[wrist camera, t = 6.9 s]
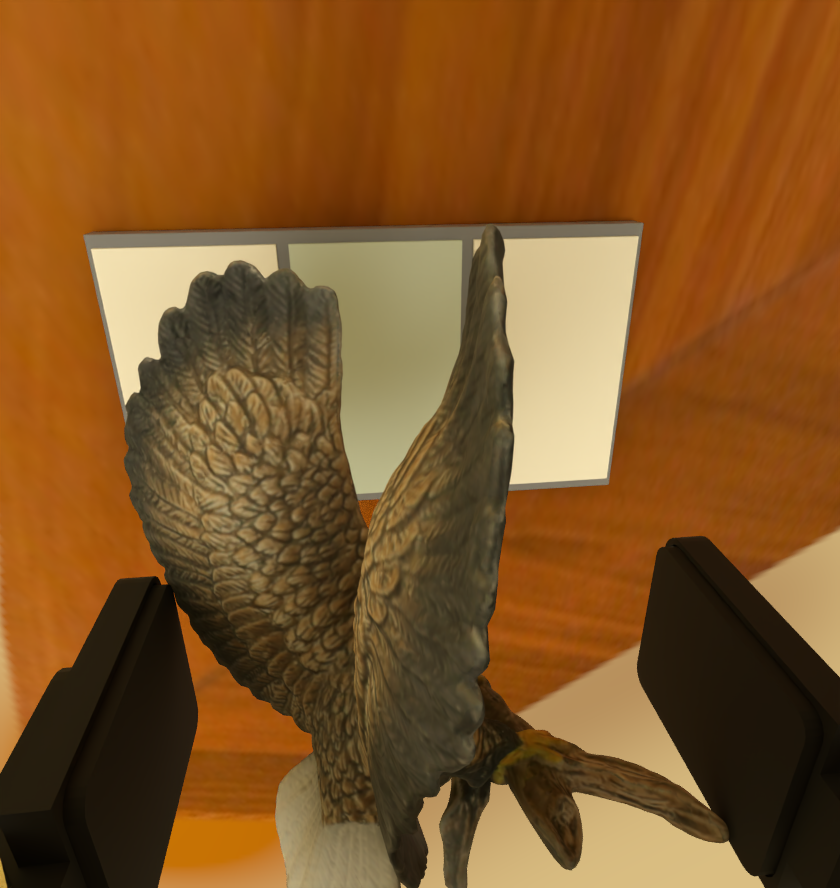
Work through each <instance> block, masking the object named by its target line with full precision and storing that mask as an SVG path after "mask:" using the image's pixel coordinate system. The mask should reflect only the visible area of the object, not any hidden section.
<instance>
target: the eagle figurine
mask: <svg viewBox="0 0 840 888" xmlns="http://www.w3.org/2000/svg"><path fill="white" fill-rule="evenodd" d="M504 255H505V245H504V240H503V238H502V235H501V233H500V231H499V229H498V228H497V227H496V226H494V225H493V224H492V223H491V224H487V226H486V228H485V230H484V232H483V234H482V238H481V243H480V246H479V248H478V249H477V250H476V252H475V254H474V256H473V259H472V267H471V271H470V276H469V286H468V296H467V305H466V317H465V325H464V329H463V332H462V342H461V346H460V350H459V354H458V357H457V359H456V362H455V365H454V367H453V370H452V373H451V376H450V379H449V382H448V385H447V388H446V391H445V394H444V397H443V399H442V402H441V404H440V406H439V408H438V409H437V411H436V412H435V414H434V415H433V417H432V418H431V419H430V420H429V421H428V422H427V423H426V424H425V425H424V426H423V428H422V429H421V431H420V433H419V434H418V435H417V436H416V438H415V439H414V441H413V443H412V444H411V446H410V448H409V450H408V452H407V454H406V456H405V458H404V460H403V461H402V462H401V463H400V464H399V465H398V467H397V468H396V469H395V471H394V472H393V474H392V475H391V477H390V479H389V481H388V483H387V485H386V487H385V489H384V491H383V493H382V495H381V497H380V499H379V501H378V503H377V505H376V507H375V509H374V512H373V515H372V518H371V521H370V527H369V529H368V527H367V525H366V523H365V521H364V519H363V517H362V514H361V511H360V507H359V503H358V499H357V494H356V490H355V486H354V482H353V479H352V475H351V470H350V465H349V462H348V458H347V455H346V452H345V448H344V442H343V436H342V430H341V420H340V412H341V392H342V378H343V362H342V358H341V348H342V322H341V317H340V312H339V305H338V298H337V295H336V293H335V291H334V290H333V289H331V288H330V287H328V286H315V287H314V288H308V287H307V286H306V285H305V284H304V282H303V281H302V280H301V279H299V277H298V276H297V274H296V273H295V272H294V271H292V270H291V269H289V268H282V269H280V270H277V271H275V272H273V273H272V274H271V275H269V276H268V277H267V278H264V277H263V275H262V274H261V273H260V271H259V270H258V269H257V268H256V267H255V266H254V265H252V264H250V263H247V262H245V261H242V260H238V261H233V262H231V263H230V264H229V265H228V267H227V269H226V270H225V272H224V275H217V274H216V273H214V272H209V271H205V272H200V273H199V274H198V275H197V276H196V277H195V278H194V279H193V280H192V282H191V284H190V287H189V292H188V297H187V301H186V304H185V306H184V307H183V308H181V309H179V308H177V307H170V308H168V309H167V310H165V311H164V313H163V315H162V317H161V319H160V321H159V325H158V345H159V350H160V354H161V357H160V359H159V360H156V359H153V358H149V357H146V358H144V359H143V360H142V361H141V363H140V364H139V366H138V374H139V380H140V387H141V388H140V391H139V393H137V392H134V393H133V394H132V395H131V396H130V398H129V400H128V401H127V403H126V405H125V407H126V411H127V420H126V424H125V440H126V442H127V444H128V446H129V449H128V452H127V454H126V456H125V458H124V464H125V469H126V471H127V473H128V476H129V478H130V481H131V484H132V489H131V492H130V495H129V496H130V499H131V501H132V504H133V506H134V508H135V509H136V511H137V512H138V514H139V517H140V519H141V520H142V521H143V530H144V533H145V536H146V538H147V540H148V541H149V543H150V548H151V551H152V553H153V555H154V556H155V558H156V559H157V561H158V563H159V564H160V565H162V566H163V567H165V574H164V576H165V579H166V581H167V583H168V584H169V585H171V587H172V589H173V592H174V594H175V598H176V602H177V604H178V605H179V607H180V608H181V609H182V610H183V611H184V612H185V613H186V614H188V616H189V619H190V625H191V627H192V628H193V630H194V631H195V632H196V633H197V634H198V635H199V637H200V639H201V641H202V642H203V644H204V645H206V646H207V647H208V648H210V650H211V651H212V652H213V654H214V656H215V658H216V660H217V661H218V663H219V664H220V665H223V666H225V667H227V668H228V669H229V671H230V673H231V674H232V676H233V678H234V679H235V680H236V681H237V682H238V683H239V684H240V685H241V686H244V687H248V688H249V689H250V690H251V692H252V694H253V696H255V697H256V698H257V699H259V700H262V701H266V702H269V703H271V705H272V707H273V709H275V710H276V711H278V712H280V713H281V714H283V715H286V716H292V717H293V719H294V721H295V723H296V725H297V726H298V727H299V728H300V729H301V730H302V731H304V732H307V733H310V734H312V747H313V752H312V753H311V754H309V755H308V756H307V757H306V758H305V759H304V760H302V761H301V763H299V764H298V765H296V766H295V767H294V768H293V769H292V770H290V771H289V773H288V774H287V775H286V776H285V777H284V778H283V780H282V781H281V782H280V784H279V787H278V793H277V798H276V813H275V819H276V827H277V832H278V835H279V838H280V845H281V850H282V853H283V856H284V861H285V867H286V875H287V888H401V886H400V885H401V884H400V882H401V883H402V884H403V885H405V886H406V887H407V888H418V887H419V885H420V882H421V879H423V878H424V875H425V870H426V868H427V866H426V864H427V857H426V856H427V854H428V847H427V844H426V841H425V838H424V835H423V832H422V829H421V827H420V824H419V821H418V818H417V817H418V815H419V813H420V811H421V810H422V808H423V804H424V801H423V798H424V797H435V796H437V794H438V793H439V791H440V787H441V786H443V785H444V784H445V783H447V782H448V781H449V780H450V779H451V778H452V779H451V782H452V783H451V792H450V798H449V802H448V805H447V808H446V810H445V812H444V813H443V815H442V818H441V821H440V824H439V828H440V833H441V837H442V841H443V849H444V868H443V871H444V878H445V885H446V886H447V887H448V888H467V864H468V859H469V854H470V850H471V845H472V842H473V838H474V834H475V830H476V827H477V824H478V821H479V819H480V816H481V813H482V812H483V810H484V808H485V807H486V805H487V803H488V802H489V796H490V785H491V782H493V783H495V784H498V785H507V784H508V785H509V787H510V789H511V791H512V792H513V794H514V796H515V797H516V799H517V801H518V803H519V805H520V806H521V808H522V810H523V811H524V813H525V815H526V816H527V818H528V820H529V821H530V823H531V824H532V826H533V828H534V829H535V831H536V832H537V834H538V835H539V837H540V839H541V840H542V841H543V843H544V844H545V846H546V847H547V849H548V850H549V852H550V853H551V854H552V856H553V857H554V858H555V860H556V861H557V862H558V863H559V864H560V865H561V866H562V867H563V868H565V869H568V870H572V869H573V868H575V867H576V866H577V864H578V862H579V861H580V856H581V851H582V841H583V833H582V823H581V818H580V813H579V809H578V807H577V805H576V803H575V801H574V799H573V797H572V793H573V792H579V793H584V794H589V795H593V796H598V797H601V798H605V799H609V800H613V801H617V802H620V803H625V804H628V805H630V806H633V807H636V808H639V809H642V810H644V811H647V812H650V813H653V814H656V815H658V816H661V817H663V818H664V819H666V820H667V821H668V822H670V823H671V824H672V825H673V826H675V827H677V828H679V829H680V830H683V831H684V832H686V833H687V834H689V835H692V836H694V837H696V838H699V839H702V840H705V841H708V842H715V843H724V842H727V841H728V840H729V830H728V827H727V825H726V823H725V822H724V821H723V820H722V819H721V818H720V817H719V816H717V815H716V814H715V813H714V812H713V811H712V810H710V809H709V808H708V807H706V806H705V805H704V804H702V803H701V802H700V801H698V800H697V799H696V798H695V797H694V796H692V795H691V794H690V793H689V792H688V791H686V790H685V789H684V788H682V787H681V786H679V785H677V784H674V783H673V782H671V781H670V780H668V779H667V778H665V777H663V776H661V775H659V774H658V773H655V772H652V771H649V770H648V769H645V768H644V767H642V766H639V765H637V764H634V763H631V762H627V761H624V760H622V759H619V758H615V757H610V756H604V755H594V754H589V753H586V752H585V751H584V750H582V749H581V748H579V747H578V746H576V745H575V744H572V743H570V742H567V741H565V740H562V739H560V738H555V737H554V736H552V735H551V734H550V733H549V732H548V731H545V730H535V729H534V728H533V727H532V726H531V725H529V724H528V723H527V722H526V721H525V720H523V719H522V718H521V717H519V716H518V715H516V714H514V713H513V712H511V710H510V709H509V708H508V706H507V705H506V703H505V701H504V700H503V698H502V697H501V696H500V695H499V694H498V693H496V692H495V691H493V690H492V689H491V685H490V683H489V681H488V680H487V679H486V678H485V677H484V676H483V675H481V674H482V673H483V672H484V671H485V670H486V669H487V667H488V664H489V661H490V657H489V642H488V628H487V625H488V623H489V621H490V619H491V617H492V615H493V613H494V610H495V605H496V596H497V586H498V567H499V560H500V553H501V547H502V540H503V535H504V529H505V524H506V516H505V505H506V500H507V495H508V489H509V484H510V478H511V472H512V463H513V451H514V431H513V426H512V423H513V402H514V401H513V372H514V358H513V355H512V353H511V350H510V347H509V343H508V339H507V335H506V311H507V297H506V292H505V288H504V275H503V259H504Z"/></svg>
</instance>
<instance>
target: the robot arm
mask: <svg viewBox="0 0 840 888" xmlns="http://www.w3.org/2000/svg"><path fill="white" fill-rule="evenodd" d="M637 672H638V677H639V681H640V683H641V685H642V687H643V689H644V691H645V693H646V695H647V696H648V698H649V700H650V702H651V704H652V705H653V707H654V709H655V710H656V712H657V714H658V716H659V718H660V720H661V721H662V723H663V725H664V727H665V728H666V730H667V732H668V734H669V735H670V737H671V739H672V741H673V742H674V744H675V746H676V748H677V750H678V752H679V753H680V755H681V757H682V759H683V760H684V762H685V764H686V766H687V768H688V769H689V771H690V773H691V775H692V776H693V778H694V780H695V782H696V784H697V785H698V787H699V789H700V791H701V792H702V794H703V796H704V797H705V800H706V801H707V803H708V805H709V806H710V808H711V810H712V811H713V812H714V813H715V814H716V815H717V816H719V817H720V818H721V819H722V820H723V821H724V822H725V823H726V825H727V827H728V830H729V842H730V844H731V846H732V847H733V849H734V851H735V853H736V855H737V856H738V858H739V860H740V862H741V863H742V865H743V866H744V868H745V869H746V871H747V872H748V873H749V874H750V875H752V876H759V878H760V879H761V881H762V883H763V885H764V887H765V888H840V677H839V676H838V675H837V674H836V673H835V672H834V671H833V670H832V669H831V668H830V667H829V666H828V665H827V664H826V663H825V661H824V660H823V659H822V658H821V657H820V656H819V655H818V654H817V653H816V652H815V651H814V650H813V649H812V648H811V647H810V646H809V645H808V643H807V642H806V641H805V640H804V639H803V638H802V637H801V636H800V635H799V634H798V633H797V632H796V631H795V630H794V629H793V628H792V627H791V626H790V624H789V623H787V622H786V620H785V619H784V618H783V617H782V616H781V615H780V614H779V613H778V612H777V611H776V610H775V609H774V608H773V607H772V605H771V604H770V603H769V602H768V601H767V600H766V599H765V598H764V597H763V596H762V595H761V594H760V593H759V592H758V591H757V590H756V589H755V588H754V586H753V585H752V584H751V583H750V582H749V581H748V580H747V579H746V578H745V577H744V576H743V575H742V574H741V573H740V572H739V571H738V570H737V569H736V567H735V566H734V565H733V564H732V563H731V562H730V561H729V560H728V559H727V558H726V557H725V556H724V555H723V554H722V553H721V552H720V551H719V550H718V548H717V547H716V546H715V545H714V544H713V543H712V542H711V541H710V540H709V539H708V538H706V537H704V536H694V537H681V538H672V539H669V540H668V542H667V543H666V546H665V547H662V548H660V549H659V550H658V552H657V555H656V561H655V567H654V572H653V578H652V583H651V589H650V595H649V600H648V606H647V611H646V617H645V622H644V628H643V634H642V639H641V645H640V650H639V656H638V662H637ZM197 723H198V706H197V701H196V696H195V691H194V687H193V682H192V677H191V673H190V668H189V663H188V658H187V654H186V649H185V644H184V640H183V635H182V630H181V626H180V621H179V616H178V611H177V607H176V602H175V597H174V593H173V589H172V587H171V585H169V584H166V585H161V583H160V580H159V579H158V577H156V576H152V577H139V578H125V579H119V580H118V581H117V582H116V583H115V585H114V587H113V589H112V591H111V593H110V595H109V597H108V599H107V601H106V603H105V605H104V606H103V608H102V610H101V612H100V614H99V616H98V618H97V620H96V622H95V624H94V626H93V628H92V630H91V632H90V634H89V636H88V637H87V639H86V641H85V643H84V645H83V647H82V649H81V651H80V653H79V655H78V657H77V659H76V661H75V663H74V665H73V667H70V668H62V669H61V670H59V671H58V672H57V673H56V674H55V676H54V677H53V678H52V680H51V681H50V683H49V685H48V687H47V689H46V691H45V692H44V694H43V696H42V698H41V700H40V702H39V703H38V705H37V707H36V709H35V711H34V713H33V715H32V716H31V718H30V720H29V722H28V724H27V726H26V727H25V729H24V731H23V733H22V735H21V737H20V738H19V740H18V742H17V744H16V746H15V748H14V750H13V751H12V753H11V755H10V757H9V759H8V761H7V762H6V764H5V766H4V768H3V770H2V772H1V773H0V888H158V884H159V880H160V876H161V872H162V868H163V864H164V860H165V856H166V851H167V848H168V844H169V839H170V835H171V831H172V827H173V823H174V819H175V815H176V811H177V807H178V803H179V799H180V795H181V791H182V787H183V783H184V778H185V774H186V770H187V766H188V762H189V758H190V754H191V750H192V746H193V742H194V738H195V734H196V729H197Z"/></svg>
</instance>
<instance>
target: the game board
mask: <svg viewBox="0 0 840 888" xmlns="http://www.w3.org/2000/svg"><path fill="white" fill-rule="evenodd" d="M643 224H644V223H641V222H637V221H593V222H544V223H496V224H493V225H494V226H496V227H497V228H498V229H499V231H500V233H501V235H502V238H503V240H504V245H505V255H504V259H503V275H504V288H505V292H506V297H507V311H506V335H507V339H508V343H509V347H510V350H511V353H512V355H513V358H514V372H513V401H514V402H513V423H512V426H513V431H514V451H513V463H512V472H511V478H510V484H509V489H508V491H514V490H530V489H546V488H562V487H577V486H593V485H608V484H609V477H610V469H611V462H612V454H613V447H614V440H615V432H616V425H617V417H618V410H619V402H620V395H621V388H622V380H623V373H624V365H625V358H626V350H627V343H628V336H629V328H630V321H631V313H632V306H633V298H634V291H635V283H636V276H637V269H638V261H639V254H640V246H641V239H642V231H643ZM486 226H487V224H447V225H399V226H351V227H302V228H254V229H205V230H157V231H108V232H91V233H88V234H85V235H84V240H85V244H86V249H87V253H88V258H89V262H90V267H91V271H92V276H93V280H94V285H95V289H96V294H97V298H98V303H99V307H100V312H101V316H102V321H103V325H104V330H105V334H106V339H107V343H108V348H109V352H110V357H111V361H112V366H113V370H114V375H115V379H116V384H117V388H118V393H119V397H120V402H121V406H122V411H123V415H124V420H125V424H126V420H127V411H126V407H125V405H126V403H127V401H128V400H129V398H130V396H131V395H132V394H133V393H134V392H137V393H139V391H140V388H141V387H140V380H139V374H138V366H139V364H140V363H141V361H142V360H143V359H144V358H146V357H149V358H153V359H156V360H159V359H160V357H161V354H160V350H159V345H158V325H159V321H160V319H161V317H162V315H163V313H164V311H165V310H167V309H168V308H170V307H177V308H179V309H181V308H183V307H184V306H185V304H186V301H187V297H188V292H189V287H190V284H191V282H192V280H193V279H194V278H195V277H196V276H197V275H198V274H199V273H200V272H205V271H209V272H214V273H216V274H217V275H224V272H225V270H226V269H227V267H228V265H229V264H230V263H231V262H233V261H238V260H242V261H245V262H247V263H250V264H252V265H254V266H255V267H256V268H257V269H258V270H259V271H260V273H261V274H262V275H263V277H264V278H267V277H268V276H269V275H271V274H272V273H273V272H275V271H277V270H280V269H282V268H289V269H291V270H292V271H294V272H295V273H296V274H297V276H298V277H299V279H301V280H302V281H303V282H304V284H305V285H306V286H307V287H308V288H314V287H315V286H328V287H330V288H331V289H333V290H334V291H335V293H336V295H337V298H338V305H339V312H340V317H341V322H342V348H341V358H342V362H343V378H342V392H341V412H340V420H341V430H342V436H343V442H344V448H345V452H346V455H347V458H348V462H349V465H350V470H351V475H352V479H353V482H354V486H355V490H356V494H357V499H358V500H372V499H380V497H381V495H382V493H383V491H384V489H385V487H386V485H387V483H388V481H389V479H390V477H391V475H392V474H393V472H394V471H395V469H396V468H397V467H398V465H399V464H400V463H401V462H402V461H403V460H404V458H405V456H406V454H407V452H408V450H409V448H410V446H411V444H412V443H413V441H414V439H415V438H416V436H417V435H418V434H419V433H420V431H421V429H422V428H423V426H424V425H425V424H426V423H427V422H428V421H429V420H430V419H431V418H432V417H433V415H434V414H435V412H436V411H437V409H438V408H439V406H440V404H441V402H442V399H443V397H444V394H445V391H446V388H447V385H448V382H449V379H450V376H451V373H452V370H453V367H454V365H455V362H456V359H457V357H458V354H459V350H460V346H461V342H462V332H463V329H464V325H465V317H466V305H467V296H468V286H469V276H470V271H471V267H472V259H473V256H474V254H475V252H476V250H477V249H478V248H479V246H480V243H481V238H482V234H483V232H484V230H485V228H486Z"/></svg>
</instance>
